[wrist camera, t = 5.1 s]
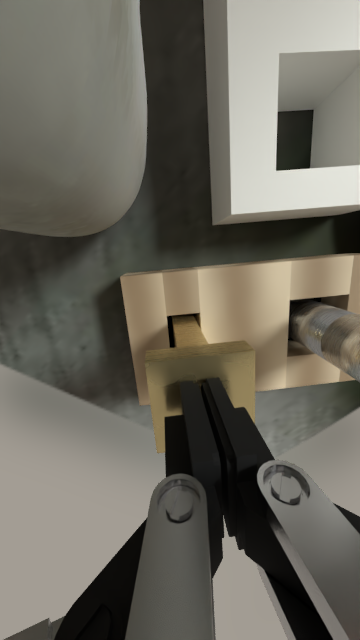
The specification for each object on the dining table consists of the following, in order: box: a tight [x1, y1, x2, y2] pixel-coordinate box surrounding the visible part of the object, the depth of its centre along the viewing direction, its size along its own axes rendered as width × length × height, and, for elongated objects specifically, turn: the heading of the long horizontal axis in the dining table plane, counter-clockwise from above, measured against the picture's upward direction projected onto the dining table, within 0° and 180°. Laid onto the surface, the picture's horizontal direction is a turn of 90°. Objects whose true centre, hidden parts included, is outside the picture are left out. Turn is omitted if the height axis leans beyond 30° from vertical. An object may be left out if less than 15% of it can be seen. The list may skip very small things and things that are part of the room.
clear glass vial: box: [288, 299, 360, 382], centre depth 15 cm, size 4×4×11 cm
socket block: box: [120, 253, 360, 406], centre depth 19 cm, size 18×10×3 cm, turn 95°
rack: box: [203, 0, 360, 225], centre depth 13 cm, size 10×16×5 cm, turn 5°
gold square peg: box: [145, 313, 255, 453], centre depth 14 cm, size 4×4×9 cm
